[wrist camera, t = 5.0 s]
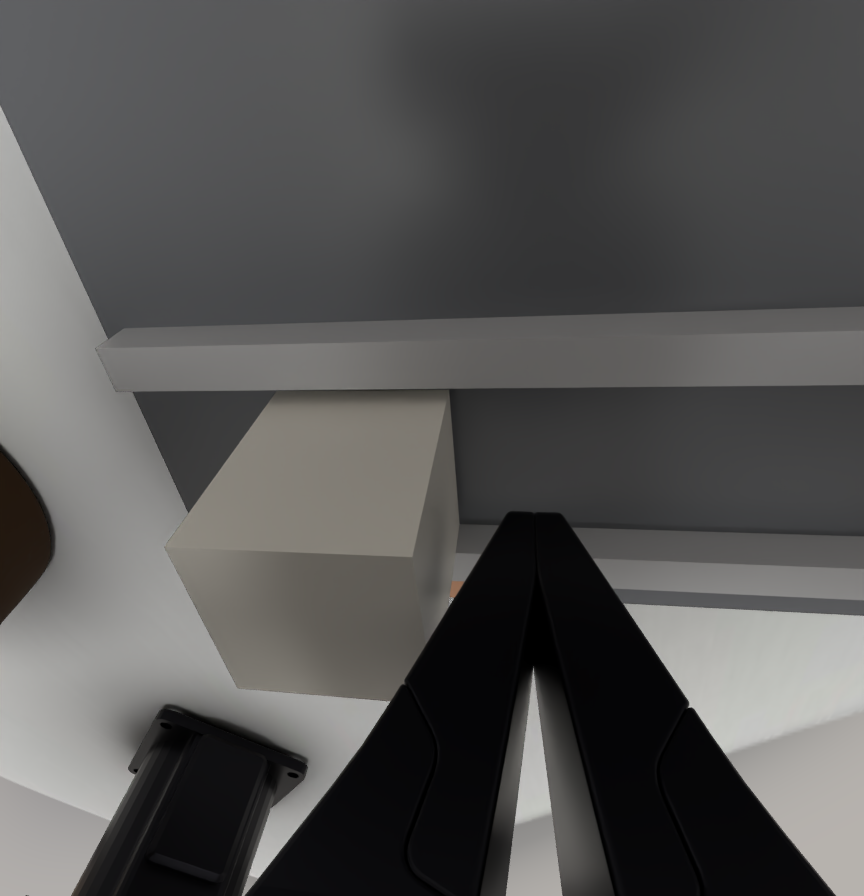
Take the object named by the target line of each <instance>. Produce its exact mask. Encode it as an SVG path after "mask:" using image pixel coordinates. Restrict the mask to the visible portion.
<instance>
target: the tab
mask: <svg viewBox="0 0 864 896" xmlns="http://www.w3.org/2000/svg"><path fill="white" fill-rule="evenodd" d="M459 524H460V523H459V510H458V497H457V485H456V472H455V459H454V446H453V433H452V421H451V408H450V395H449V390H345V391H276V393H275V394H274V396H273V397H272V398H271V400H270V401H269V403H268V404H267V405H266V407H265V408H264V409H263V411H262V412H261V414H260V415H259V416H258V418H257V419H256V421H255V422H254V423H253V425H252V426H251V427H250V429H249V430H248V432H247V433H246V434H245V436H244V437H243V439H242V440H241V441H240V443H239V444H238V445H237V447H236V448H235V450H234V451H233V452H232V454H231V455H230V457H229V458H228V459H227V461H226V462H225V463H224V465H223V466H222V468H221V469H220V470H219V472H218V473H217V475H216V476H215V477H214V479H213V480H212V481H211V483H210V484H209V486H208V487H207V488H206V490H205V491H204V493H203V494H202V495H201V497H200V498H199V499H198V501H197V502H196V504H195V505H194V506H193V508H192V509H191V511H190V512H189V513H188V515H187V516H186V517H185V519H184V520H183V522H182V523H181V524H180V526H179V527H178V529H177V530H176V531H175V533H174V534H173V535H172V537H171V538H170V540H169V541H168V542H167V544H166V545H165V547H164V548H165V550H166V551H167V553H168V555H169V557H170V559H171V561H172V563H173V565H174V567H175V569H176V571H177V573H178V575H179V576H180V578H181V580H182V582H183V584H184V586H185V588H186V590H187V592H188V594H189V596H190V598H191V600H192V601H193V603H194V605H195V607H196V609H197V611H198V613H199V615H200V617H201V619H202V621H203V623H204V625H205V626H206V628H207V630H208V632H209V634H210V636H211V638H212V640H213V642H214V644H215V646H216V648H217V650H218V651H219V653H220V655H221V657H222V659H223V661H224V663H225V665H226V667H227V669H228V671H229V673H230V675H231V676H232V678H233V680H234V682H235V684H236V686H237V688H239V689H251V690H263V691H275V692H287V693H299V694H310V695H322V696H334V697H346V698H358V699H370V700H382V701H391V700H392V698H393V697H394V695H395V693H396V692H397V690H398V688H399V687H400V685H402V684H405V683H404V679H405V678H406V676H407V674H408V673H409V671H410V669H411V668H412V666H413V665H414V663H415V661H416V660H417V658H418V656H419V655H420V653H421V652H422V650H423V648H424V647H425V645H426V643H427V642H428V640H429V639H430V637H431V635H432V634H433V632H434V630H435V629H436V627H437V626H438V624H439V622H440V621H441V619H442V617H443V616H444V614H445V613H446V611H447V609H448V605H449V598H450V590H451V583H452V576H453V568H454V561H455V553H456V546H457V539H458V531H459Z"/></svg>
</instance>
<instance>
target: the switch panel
mask: <svg viewBox="0 0 864 896" xmlns="http://www.w3.org/2000/svg"><path fill="white" fill-rule="evenodd" d="M0 105H1V107H2V110H3V112H4V114H5V116H6V118H7V120H8V123H9V125H10V127H11V129H12V131H13V133H14V136H15V138H16V140H17V142H18V144H19V146H20V149H21V151H22V153H23V155H24V157H25V159H26V162H27V164H28V166H29V168H30V170H31V172H32V175H33V177H34V179H35V181H36V183H37V186H38V188H39V190H40V192H41V194H42V196H43V199H44V201H45V203H46V205H47V207H48V209H49V212H50V214H51V216H52V218H53V220H54V222H55V225H56V227H57V229H58V231H59V233H60V235H61V238H62V240H63V242H64V244H65V246H66V248H67V251H68V253H69V255H70V257H71V259H72V261H73V264H74V266H75V268H76V270H77V272H78V275H79V277H80V279H81V281H82V283H83V285H84V288H85V290H86V292H87V294H88V296H89V298H90V301H91V303H92V305H93V307H94V309H95V311H96V314H97V316H98V318H99V320H100V322H101V324H102V327H103V329H104V331H105V333H106V335H107V337H108V340H107V341H105V342H104V343H102V344H101V345H100V346H98V347H97V348H95V349H96V351H97V353H98V355H99V357H100V360H101V362H102V364H103V366H104V368H105V370H106V372H107V374H108V376H109V378H110V380H111V382H112V384H113V387H114V389H115V391H116V392H133V394H134V396H135V398H136V400H137V403H138V405H139V407H140V409H141V411H142V413H143V416H144V418H145V420H146V422H147V424H148V426H149V429H150V431H151V433H152V435H153V437H154V439H155V442H156V444H157V446H158V448H159V450H160V453H161V455H162V457H163V459H164V461H165V463H166V466H167V468H168V470H169V472H170V474H171V476H172V479H173V481H174V483H175V485H176V487H177V489H178V492H179V494H180V496H181V498H182V500H183V502H184V505H185V507H186V509H187V511H188V513H189V512H190V511H191V509H192V508H193V506H194V505H195V504H196V502H197V501H198V499H199V498H200V497H201V495H202V494H203V493H204V491H205V490H206V488H207V487H208V486H209V484H210V483H211V481H212V480H213V479H214V477H215V476H216V475H217V473H218V472H219V470H220V469H221V468H222V466H223V465H224V463H225V462H226V461H227V459H228V458H229V457H230V455H231V454H232V452H233V451H234V450H235V448H236V447H237V445H238V444H239V443H240V441H241V440H242V439H243V437H244V436H245V434H246V433H247V432H248V430H249V429H250V427H251V426H252V425H253V423H254V422H255V421H256V419H257V418H258V416H259V415H260V414H261V412H262V411H263V409H264V408H265V407H266V405H267V404H268V403H269V401H270V400H271V398H272V397H273V396H274V394H275V393H276V391H345V390H449V395H450V408H451V421H452V433H453V446H454V459H455V472H456V485H457V497H458V510H459V523H460V524H459V531H458V539H457V546H456V553H455V561H454V568H453V576H452V583H451V590H450V597H454V598H455V596H456V595H457V593H458V591H459V590H460V588H461V586H462V585H463V583H464V582H465V580H466V578H467V577H468V575H469V573H470V572H471V570H472V569H473V567H474V565H475V564H476V562H477V560H478V559H479V557H480V556H481V554H482V552H483V551H484V549H485V547H486V546H487V544H488V543H489V541H490V539H491V538H492V536H493V534H494V533H495V531H496V530H497V528H498V526H499V525H500V523H501V521H502V520H503V518H504V516H505V515H506V514H507V513H508V512H509V511H531V512H533V513H534V514H535V513H536V512H559V513H561V514H562V515H563V516H564V517H565V518H566V520H567V521H568V523H569V524H570V526H571V527H572V529H573V530H574V532H575V533H576V535H577V536H578V538H579V539H580V541H581V542H582V544H583V545H584V547H585V548H586V550H587V551H588V553H589V554H590V556H591V557H592V559H593V560H594V562H595V563H596V564H597V566H598V567H599V569H600V570H601V572H602V573H603V575H604V576H605V578H606V579H607V581H608V582H609V584H610V585H611V587H612V588H613V590H614V591H615V593H616V594H617V596H618V597H619V599H620V600H621V602H622V603H626V604H646V605H665V606H685V607H704V608H724V609H743V610H762V611H782V612H801V613H821V614H840V615H860V616H864V0H0Z"/></svg>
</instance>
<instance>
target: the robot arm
mask: <svg viewBox="0 0 864 896" xmlns="http://www.w3.org/2000/svg"><path fill="white" fill-rule="evenodd" d="M533 666H534V676H535V684H536V692H537V699H538V707H539V715H540V723H541V731H542V738H543V746H544V754H545V762H546V770H547V777H548V785H549V793H550V801H551V809H552V817H553V824H554V832H555V840H556V848H557V856H558V863H559V871H560V878H561V887H562V895H563V896H836V895H835V894H834V893H833V891H832V890H831V889H830V888H829V887H828V886H827V884H826V883H825V882H824V881H823V879H822V878H821V877H820V876H819V874H818V873H817V872H816V871H815V869H814V868H813V867H812V866H811V865H810V863H809V862H808V861H807V860H806V859H805V857H804V856H803V855H802V854H801V852H800V851H799V850H798V849H797V847H796V846H795V845H794V844H793V843H792V841H791V840H790V839H789V838H788V836H787V835H786V834H785V833H784V831H783V830H782V829H781V828H780V826H779V825H778V824H777V823H776V821H775V820H774V819H773V817H772V816H771V815H770V814H769V812H768V811H767V810H766V808H765V807H764V806H763V805H762V803H761V802H760V801H759V800H758V798H757V797H756V796H755V795H754V793H753V792H752V791H751V789H750V788H749V787H748V786H747V784H746V783H745V782H744V780H743V779H742V777H741V776H740V775H739V773H738V772H737V770H736V769H735V768H734V766H733V765H732V763H731V762H730V761H729V759H728V758H727V756H726V755H725V753H724V752H723V751H722V749H721V748H720V746H719V745H718V744H717V742H716V741H715V739H714V738H713V737H712V735H711V734H710V732H709V731H708V729H707V728H706V726H705V725H704V723H703V722H702V720H701V719H700V717H699V716H698V714H697V713H696V711H695V710H694V709H693V708H688V707H689V701H688V700H687V698H686V697H685V695H684V694H683V692H682V691H681V689H680V688H679V686H678V685H677V683H676V682H675V680H674V679H673V677H672V676H671V675H670V673H669V672H668V670H667V669H666V667H665V666H664V664H663V663H662V661H661V660H660V658H659V657H658V655H657V654H656V652H655V651H654V649H653V648H652V646H651V645H650V643H649V642H648V640H647V639H646V637H645V636H644V634H643V633H642V631H641V630H640V628H639V627H638V625H637V624H636V622H635V621H634V620H633V618H632V617H631V615H630V614H629V612H628V611H627V609H626V608H625V606H624V605H623V603H622V602H621V600H620V599H619V597H618V596H617V594H616V593H615V591H614V590H613V588H612V587H611V585H610V584H609V582H608V581H607V579H606V578H605V576H604V575H603V573H602V572H601V570H600V569H599V567H598V566H597V564H596V563H595V562H594V560H593V559H592V557H591V556H590V554H589V553H588V551H587V550H586V548H585V547H584V545H583V544H582V542H581V541H580V539H579V538H578V536H577V535H576V533H575V532H574V530H573V529H572V527H571V526H570V524H569V523H568V521H567V520H566V518H565V517H564V516H563V515H562V514H561V513H559V512H536V513H535V514H534V513H533V512H531V511H509V512H508V513H507V514H506V515H505V516H504V518H503V520H502V521H501V523H500V525H499V526H498V528H497V530H496V531H495V533H494V534H493V536H492V538H491V539H490V541H489V543H488V544H487V546H486V547H485V549H484V551H483V552H482V554H481V556H480V557H479V559H478V560H477V562H476V564H475V565H474V567H473V569H472V570H471V572H470V573H469V575H468V577H467V578H466V580H465V582H464V583H463V585H462V586H461V588H460V590H459V591H458V593H457V595H456V596H455V598H454V600H453V601H452V603H451V604H450V606H449V608H448V609H447V611H446V613H445V614H444V616H443V617H442V619H441V621H440V622H439V624H438V626H437V627H436V629H435V630H434V632H433V634H432V635H431V637H430V639H429V640H428V642H427V643H426V645H425V647H424V648H423V650H422V652H421V653H420V655H419V656H418V658H417V660H416V661H415V663H414V665H413V666H412V668H411V669H410V671H409V673H408V674H407V676H406V678H405V679H404V683H405V684H402V685H400V687H399V688H398V690H397V692H396V693H395V695H394V697H393V698H392V700H391V702H390V703H389V705H388V706H387V708H386V710H385V711H384V713H383V714H382V716H381V717H380V719H379V720H378V722H377V723H376V725H375V726H374V728H373V729H372V731H371V732H370V734H369V735H368V737H367V738H366V740H365V741H364V743H363V744H362V746H361V747H360V749H359V750H358V751H357V753H356V754H355V755H354V757H353V758H352V759H351V761H350V762H349V763H348V765H347V766H346V767H345V769H344V770H343V771H342V773H341V774H340V775H339V777H338V778H337V779H336V781H335V782H334V783H333V785H332V786H331V787H330V788H329V790H328V791H327V792H326V794H325V795H324V796H323V797H322V799H321V800H320V801H319V802H318V804H317V805H316V806H315V808H314V809H313V810H312V811H311V813H310V814H309V815H308V816H307V818H306V819H305V820H304V821H303V823H302V824H301V825H300V827H299V828H298V829H297V830H296V832H295V833H294V834H293V835H292V837H291V838H290V839H289V840H288V842H287V843H286V844H285V846H284V847H283V848H282V849H281V851H280V852H279V853H278V854H277V856H276V857H275V858H274V859H273V861H272V862H271V863H270V865H269V866H268V867H267V868H266V870H265V871H264V872H263V873H262V875H261V876H260V877H259V879H258V880H257V881H256V882H255V884H254V885H253V886H252V887H251V888H250V890H249V891H248V892H247V893H246V895H245V896H506V888H507V880H508V872H509V863H510V855H511V847H512V838H513V831H514V823H515V814H516V806H517V798H518V790H519V782H520V773H521V765H522V757H523V749H524V741H525V732H526V724H527V716H528V708H529V700H530V691H531V683H532V675H533ZM307 769H308V767H307V765H306V764H305V763H303V762H301V761H299V760H297V759H294V758H292V757H289V756H286V755H284V754H281V753H279V752H276V751H274V750H271V749H269V748H266V747H264V746H261V745H259V744H256V743H254V742H251V741H249V740H246V739H243V738H241V737H238V736H236V735H233V734H231V733H228V732H226V731H223V730H221V729H218V728H216V727H213V726H211V725H208V724H206V723H203V722H200V721H198V720H195V719H193V718H190V717H188V716H185V715H183V714H180V713H178V712H175V711H172V710H168V709H163V710H160V711H159V713H158V715H157V716H156V718H155V720H154V722H153V724H152V725H151V727H150V729H149V731H148V733H147V735H146V736H145V738H144V740H143V742H142V744H141V745H140V747H139V749H138V751H137V753H136V754H135V756H134V758H133V760H132V762H131V764H130V765H129V767H128V770H129V771H130V772H131V773H133V774H135V777H134V779H133V781H132V783H131V785H130V787H129V788H128V790H127V792H126V794H125V796H124V798H123V800H122V801H121V803H120V805H119V807H118V809H117V811H116V813H115V815H114V816H113V818H112V820H111V822H110V824H109V826H108V828H107V830H106V831H105V834H104V835H103V837H102V839H101V841H100V843H99V845H98V846H97V849H96V850H95V852H94V854H93V856H92V858H91V860H90V861H89V863H88V865H87V867H86V869H85V871H84V873H83V874H82V876H81V878H80V880H79V882H78V884H77V886H76V888H75V889H74V891H73V893H72V895H71V896H242V893H243V890H244V887H245V884H246V881H247V878H248V875H249V872H250V869H251V866H252V863H253V860H254V857H255V854H256V851H257V848H258V845H259V842H260V839H261V836H262V833H263V830H264V827H265V824H266V821H267V818H268V815H269V812H270V809H271V808H272V807H273V806H274V805H275V804H277V803H278V802H279V801H280V800H281V799H282V798H283V797H285V796H286V795H287V794H288V793H289V792H290V791H291V790H293V789H294V788H295V787H296V786H297V785H298V784H299V783H301V782H302V781H303V780H304V778H305V775H306V772H307ZM26 896H27V895H26Z"/></svg>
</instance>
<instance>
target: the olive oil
mask: <svg viewBox="0 0 864 896" xmlns="http://www.w3.org/2000/svg"><path fill="white" fill-rule="evenodd" d="M50 554H51V540H50V533H49V528H48V525H47V521H46V518H45V516H44V513H43V511H42V509H41V507H40V505H39V503H38V501H37V499H36V497H35V495H34V494H33V492H32V490H31V489H30V487H29V486H28V484H27V483H26V482H25V480H24V479H23V477H22V476H21V475H20V474H19V472H18V471H17V470H16V469H15V467H14V466H13V465H12V464H11V463H10V462H9V460H8V459H7V458H6V457H5V456H4V455H3V454H2V453H1V452H0V624H1V623H2V622H3V621H4V619H5V618H6V617H7V616H8V615H9V614H10V613H11V611H12V610H13V609H14V608H15V607H16V606H17V604H18V603H19V602H20V601H21V600H22V599H23V597H24V596H25V595H26V594H27V593H28V592H29V590H30V589H31V588H32V587H33V586H34V584H35V583H36V582H37V581H38V579H39V578H40V577H41V575H42V574H43V572H44V571H45V569H46V567H47V565H48V562H49V559H50Z"/></svg>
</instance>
